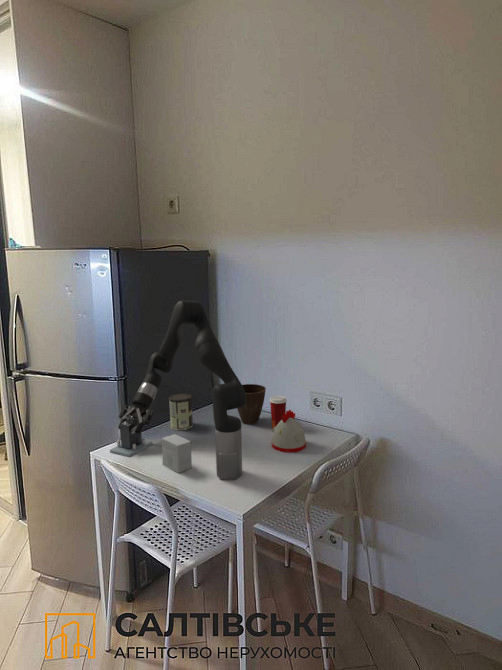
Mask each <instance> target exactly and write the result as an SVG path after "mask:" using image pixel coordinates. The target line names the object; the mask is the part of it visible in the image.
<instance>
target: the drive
mask: <svg viewBox="0 0 502 670" xmlns="http://www.w3.org/2000/svg"><path fill="white" fill-rule="evenodd" d="M138 423H139V419H137V418H132V419H129V420H128V421H125V422H123V423H121V424H120V423H119V424H120V429H119V430H120V444H121V447H122V448H125V449H129V450H131V449H132V448H133V444H134V443H135V444H136V446H138V445H140V444H142V439H143V437H142V436H143V435H142V431H141V432H140V433H139V434H137V433H135V429H136V427H137V425H138Z"/></svg>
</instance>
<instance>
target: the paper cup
mask: <svg viewBox="0 0 502 670" xmlns="http://www.w3.org/2000/svg"><path fill="white" fill-rule="evenodd" d="M287 402H288V400H287V397H286V396H284V395H274V396H271V397H270V399H269V403H270V404H269V405H270V415H271V417H270V418H271V427H272V429H273V428H274V427H276V426H277V425H278V423H279V422H280V421H281V420H282V418H281V416H283V413H284V412H285V413H286V411H287Z"/></svg>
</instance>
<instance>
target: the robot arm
mask: <svg viewBox="0 0 502 670" xmlns="http://www.w3.org/2000/svg"><path fill="white" fill-rule="evenodd" d="M169 321H170V322H169V323H168V324H169V325H168V328H167V332H166V335H165V337H164V339H163V341H162V343H161V346H160V347H159V349H158V350H159V351H156V352H153V353H152V354H151V355H150V357H149V360H148V361H149V362H148V368H147V370H146V371H147V372H146V374H145V376H144V378H143V381H142V383H141V385H140V386H139V388H138V389H137V392H136V394H135V395H134V398H133V400H132V403H131V405H130V406H129V405H127V404H125V405H124V406H123V408H122V410H121V411H120V413H119V414H118V418H119V419H120V422H119V423H118V424H119V425H118V430H120V424H121V423H123V422H125V421H128V420H130V419H137V420H139V423H138V425H137V427H136V429H135V433H137V434H139V433H140V432H141V433H142V430H143V427H144V426H146V425H147V426H148V425H149V424H150V422H151V420H152V417H153V415H154V411H153V409H150V408H151V406H152V404H153V401H154V400H155V398H156V395H157V392H158V391H159V388H160V386H161V383H162V381H163V377H162V376H161V375H160V374H159V373H157V372H156V370H157V371H158V372H161V373H163V374H169V373H171V371H173V369H174V363H175V356H176V355H177V352H178V350H179V348H180V346H181V343H182V339H181V338H182V337H181V334H180V327H181V326H182V325H183V324H184V325H194V326H195V327H196V329H197V331H198V332H197V337H196V339H195V344H194V350H195V353H196V355H197V358H198V359H199V362H200V364H201V365H202V366H203V367H204V368H205V369H207V370H208V371H210V372H211V373H212V374H214V375H215V376H217V377H218V378H219V379H220V380H221V381H222V382H223V383H220V384H216V385H213V387H212V392H211V402H212V412H213V414H212V415H213V421H214V427H215V428H214V431H215V432H214V433H215V435H214V437H215V465H216V467H215V468H216V469H215V470H216V476H217V477H218V478H219V480H238V478H240V477H241V476H242V475H243V449H242V448H243V445H242V440H243V438H242V421H241V418H240V417H238V416H234V415H231V414H230V415H228V411H231V410H237V408H240V407H243V406H244V405H245V404H246V393H245V390H244V388H243V386H242V385H243V384H242V382H241V380H240V379H239V377H238V376H237V375H236V373H235V372H234V370H233V368H232V367H231V365H230V363H229V361H228V360H227V357H226V355H225V353H224V351H223V349H222V347H221V344H220V343H219V340H218V339H217V337H216V335H215V332H214V330H213V328H212V327H211V324H210V320H209V319H208V316H207V313H206V310H205V308H204V306H203V304H202V302H199V301H195V300H184V299H182V300H179V301H178V302H177V303H176V304H175V306H174V308H173V311H172V314H171V318H170V320H169Z"/></svg>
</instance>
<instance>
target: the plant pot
mask: <svg viewBox="0 0 502 670" xmlns="http://www.w3.org/2000/svg"><path fill="white" fill-rule="evenodd" d="M242 386H243V388H244V390H245V393H246V404H245V405H244V406H243V407H240V408H236V410H237V411H238V415H239V419H240V420H241V423H243V424H245V425H254V424H257V423H258V422H259V419H260V415H261V414H262V410H263V406H264V402H265V397H266V389H267V388H266V387H265V386H263V385H260V384H255V383H246V384H245V383H243V384H242Z"/></svg>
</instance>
